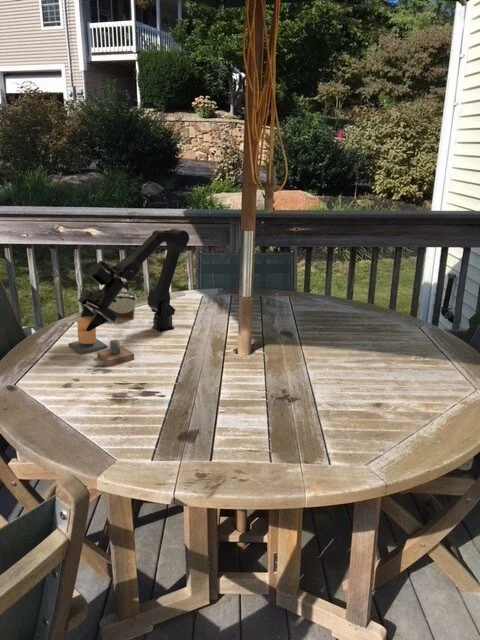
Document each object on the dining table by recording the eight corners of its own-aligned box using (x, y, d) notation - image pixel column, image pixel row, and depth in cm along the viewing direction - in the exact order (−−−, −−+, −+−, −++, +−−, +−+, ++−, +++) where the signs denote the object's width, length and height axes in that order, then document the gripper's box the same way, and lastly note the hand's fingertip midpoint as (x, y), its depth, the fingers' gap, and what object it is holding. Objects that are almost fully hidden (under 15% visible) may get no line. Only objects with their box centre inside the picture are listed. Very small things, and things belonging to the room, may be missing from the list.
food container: (141, 314, 225) (140, 291, 222) (137, 319, 220) (136, 296, 216) (112, 313, 226) (111, 290, 223) (107, 317, 221) (106, 294, 217)
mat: (94, 339, 197) (94, 337, 196) (107, 348, 189) (107, 345, 189) (68, 345, 190) (68, 343, 190) (80, 354, 183) (80, 351, 183)
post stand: (121, 351, 187) (120, 335, 185) (134, 359, 180) (133, 342, 179) (97, 357, 181) (96, 340, 179) (109, 365, 175) (108, 348, 173)
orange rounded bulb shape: (96, 337, 193) (95, 316, 190) (96, 343, 187) (94, 321, 184) (79, 338, 191) (77, 316, 189) (78, 344, 186) (76, 322, 183)
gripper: (81, 274, 191) (54, 309, 188) (107, 285, 178) (78, 323, 175) (102, 291, 199) (76, 326, 195) (129, 303, 186) (102, 340, 182)
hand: (82, 328), depth 187 cm, fingers closed on orange rounded bulb shape, 6 cm apart
